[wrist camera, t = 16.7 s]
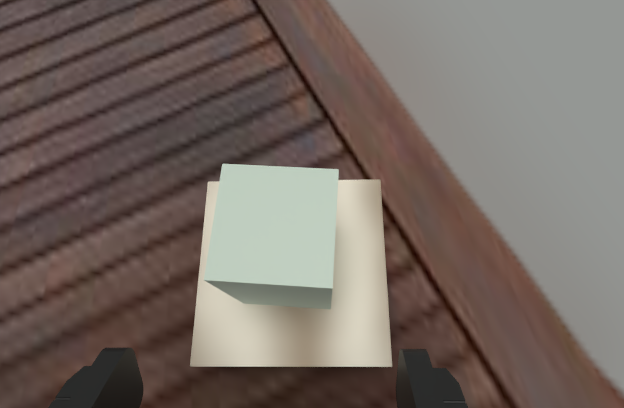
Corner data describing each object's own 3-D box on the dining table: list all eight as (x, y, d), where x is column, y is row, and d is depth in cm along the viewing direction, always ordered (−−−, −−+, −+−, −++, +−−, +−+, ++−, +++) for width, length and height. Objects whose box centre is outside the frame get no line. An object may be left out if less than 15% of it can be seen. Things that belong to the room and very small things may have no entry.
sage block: (243, 303, 23) (203, 280, 16) (253, 220, 25) (222, 163, 17) (330, 309, 23) (332, 288, 15) (334, 225, 25) (338, 169, 17)
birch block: (217, 363, 28) (190, 366, 22) (229, 212, 32) (208, 181, 26) (378, 363, 27) (391, 366, 22) (370, 210, 31) (380, 179, 26)
